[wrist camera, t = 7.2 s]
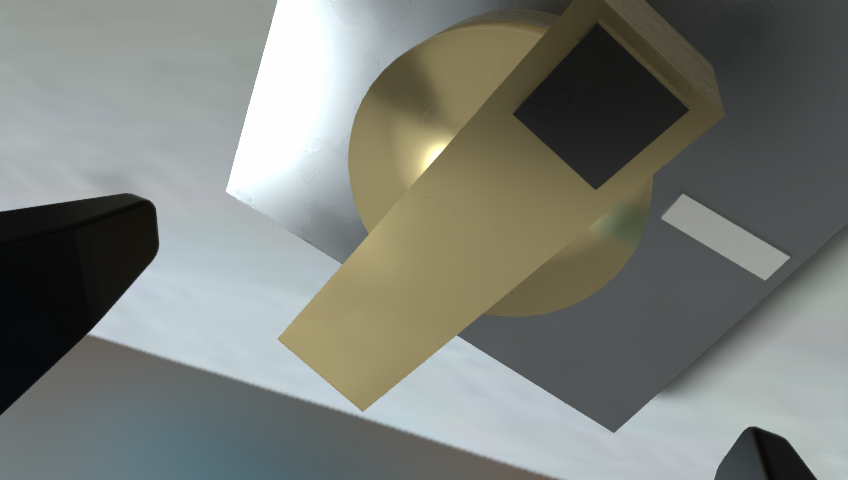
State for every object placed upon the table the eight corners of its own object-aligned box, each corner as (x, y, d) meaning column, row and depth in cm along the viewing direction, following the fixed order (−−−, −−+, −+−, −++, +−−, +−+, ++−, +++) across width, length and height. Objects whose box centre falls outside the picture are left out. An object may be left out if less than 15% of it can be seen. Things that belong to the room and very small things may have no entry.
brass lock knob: (491, 329, 17) (429, 478, 13) (323, 180, 17) (198, 282, 12) (776, 105, 12) (838, 226, 7) (543, -118, 11) (463, -130, 7)
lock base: (257, 171, 23) (189, 216, 20) (423, -372, 14) (345, -458, 10) (618, 393, 22) (608, 479, 19) (1056, -27, 13) (1189, -1, 9)
